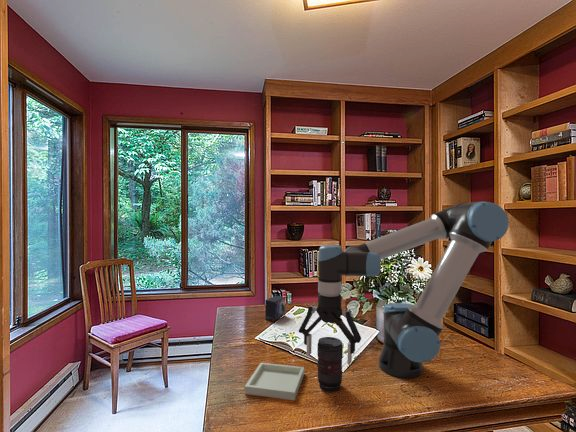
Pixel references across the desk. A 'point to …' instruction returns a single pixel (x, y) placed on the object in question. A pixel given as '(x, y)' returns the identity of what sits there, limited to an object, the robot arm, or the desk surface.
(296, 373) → the tray
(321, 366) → the camera lens
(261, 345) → the desk surface
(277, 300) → the small box
